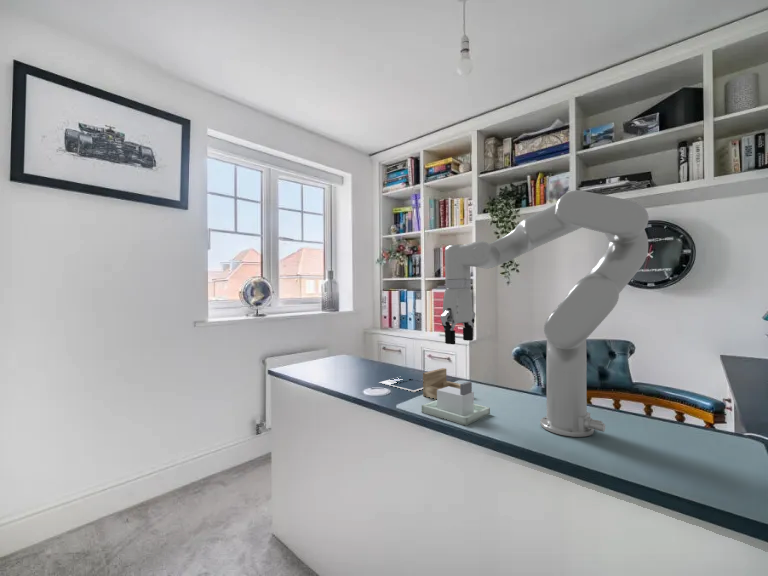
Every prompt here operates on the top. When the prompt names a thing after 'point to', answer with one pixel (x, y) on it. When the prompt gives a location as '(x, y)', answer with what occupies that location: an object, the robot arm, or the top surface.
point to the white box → (456, 399)
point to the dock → (436, 382)
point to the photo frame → (389, 382)
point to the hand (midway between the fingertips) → (459, 342)
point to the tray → (465, 420)
